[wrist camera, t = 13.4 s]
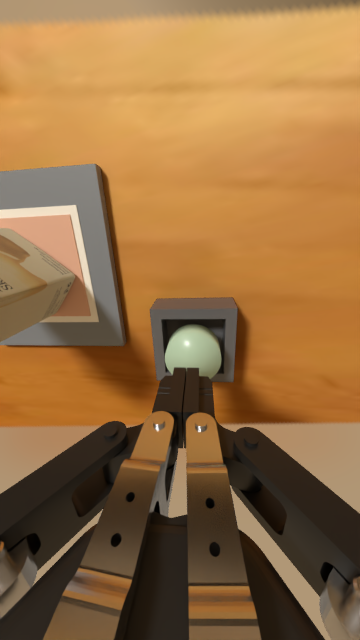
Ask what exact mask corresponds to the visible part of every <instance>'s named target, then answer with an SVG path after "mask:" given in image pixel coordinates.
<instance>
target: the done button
mask: <svg viewBox="0 0 360 640" xmlns="http://www.w3.org/2000/svg"><path fill="white" fill-rule="evenodd" d="M165 363H166V366H167V368H168V370H169V372H170V373H171V374H172V375H173V371H174V367H186V369H187V367H191V368H199V376H208V377H209V379H211V378H212V377H213V376H214V375H215V374H216V373H217V372H218V370H219V368H220V366H221V352H220V345H219V341H218V338H217V337H216V335H215V334H214V333H213V332H212V331H211V330H210V329H208V328H207V327H205V326H202V325H198V324H189V325H185V326H182V327H180V328H178V329H177V330H176V331H175V332H174V333H173V334H172V335H171V337H170V340H169V343H168V346H167V349H166V353H165Z"/></svg>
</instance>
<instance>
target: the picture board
mask: <svg viewBox="0 0 360 640" xmlns="http://www.w3.org/2000/svg"><path fill="white" fill-rule="evenodd" d="M0 228H9V229H11V230H13V231H14V232H16V233H17V234H19V235H20V236H22V237H23V238H25V239H26V240H28V241H29V242H31V243H32V244H34V245H35V246H37V247H38V248H39V249H41V250H42V251H44V252H45V253H46V254H48V255H49V256H51V257H52V258H53V259H55V260H56V261H57V262H59V263H60V264H61V265H63V266H64V267H65V268H67V269H68V270H69V271H71V272H72V273H73V274H74V275H75V280H74V282H73V284H72V286H71V288H70V290H69V292H68V294H67V296H66V297H65V299H64V301H63V303H62V304H61V306H60V308H59V309H58V311H57V313H55V314H54V315H52V316H50V317H48V318H46V319H44V320H42V321H40V322H38V323H36V324H34V325H32V326H30V327H29V328H27V329H25V330H23V331H21V332H19V333H17V334H15V335H13V336H11V337H9V338H7V339H5V340H4V341H2V342H0V345H64V346H124V345H125V343H126V335H125V329H124V322H123V316H122V309H121V302H120V296H119V289H118V282H117V276H116V269H115V262H114V256H113V249H112V242H111V236H110V229H109V222H108V216H107V209H106V202H105V196H104V189H103V182H102V176H101V169H100V167H99V166H98V165H96V164H86V165H74V166H62V167H50V168H38V169H26V170H14V171H2V172H0Z"/></svg>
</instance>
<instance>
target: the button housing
mask: <svg viewBox="0 0 360 640" xmlns="http://www.w3.org/2000/svg"><path fill="white" fill-rule="evenodd" d="M237 311H238V308H237V306H236V304H235V302H234V299H233V298H172V299H156V301H155V302H154V304H153V305H152V307H151V308H150V316H151V326H152V336H153V346H154V356H155V366H156V376H157V380H162V379H163V378H164V376H173V375H172V374H171V373H170V372H169V370H168V368H167V366H166V363H165V353H166V349H167V346H168V343H169V340H170V337H171V335H172V334H173V333H174V332H175V331H176V330H177V329H178V328H180V327H182V326H185V325H189V324H198V325H202V326H205V327H207V328H208V329H210V330H211V331H212V332H213V333H214V334H215V335H216V337H217V338H218V341H219V345H220V352H221V366H220V368H219V370H218V372H217V373H216V374H215V375H214V376H213V377H212V378H211V379H210V380H211V381H212V382H233V381H234V363H235V346H236V328H237Z"/></svg>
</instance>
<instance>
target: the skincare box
mask: <svg viewBox="0 0 360 640" xmlns="http://www.w3.org/2000/svg"><path fill="white" fill-rule="evenodd" d="M74 280H75V275H74V274H73V273H72V272H71V271H69V270H68V269H67V268H65V267H64V266H63V265H61V264H60V263H59V262H57V261H56V260H55V259H53V258H52V257H51V256H49V255H48V254H46V253H45V252H44V251H42V250H41V249H39V248H38V247H37V246H35V245H34V244H32V243H31V242H29V241H28V240H26V239H25V238H23V237H22V236H20V235H19V234H17V233H16V232H14V231H13V230H11V229H9V228H0V342H2V341H4V340H5V339H7V338H9V337H11V336H13V335H15V334H17V333H19V332H21V331H23V330H25V329H27V328H29V327H30V326H32V325H34V324H36V323H38V322H40V321H42V320H44V319H46V318H48V317H50V316H52V315H54V314H55V313H57V311H58V309H59V308H60V306H61V304H62V303H63V301H64V299H65V297H66V296H67V294H68V292H69V290H70V288H71V286H72V284H73V282H74Z"/></svg>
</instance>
